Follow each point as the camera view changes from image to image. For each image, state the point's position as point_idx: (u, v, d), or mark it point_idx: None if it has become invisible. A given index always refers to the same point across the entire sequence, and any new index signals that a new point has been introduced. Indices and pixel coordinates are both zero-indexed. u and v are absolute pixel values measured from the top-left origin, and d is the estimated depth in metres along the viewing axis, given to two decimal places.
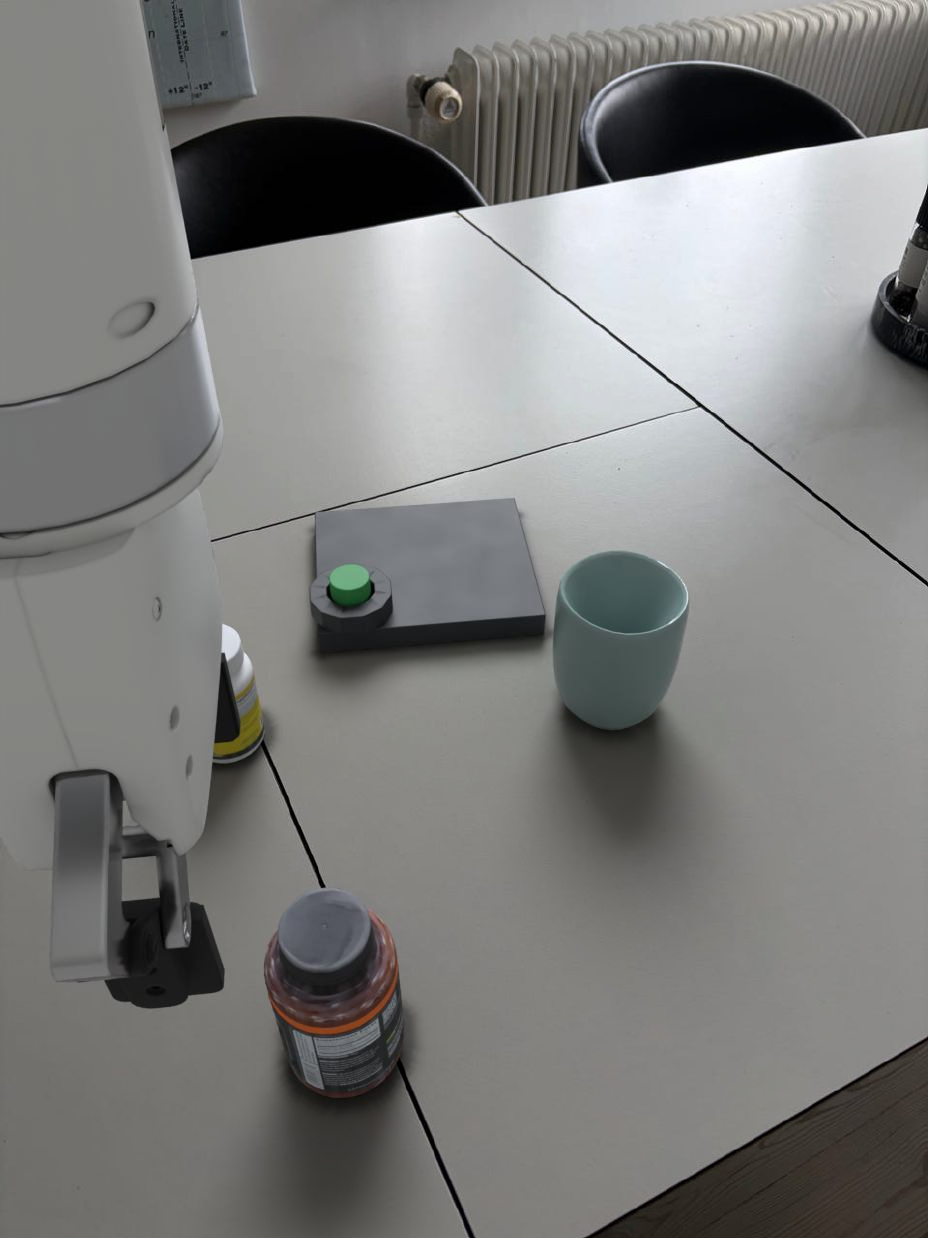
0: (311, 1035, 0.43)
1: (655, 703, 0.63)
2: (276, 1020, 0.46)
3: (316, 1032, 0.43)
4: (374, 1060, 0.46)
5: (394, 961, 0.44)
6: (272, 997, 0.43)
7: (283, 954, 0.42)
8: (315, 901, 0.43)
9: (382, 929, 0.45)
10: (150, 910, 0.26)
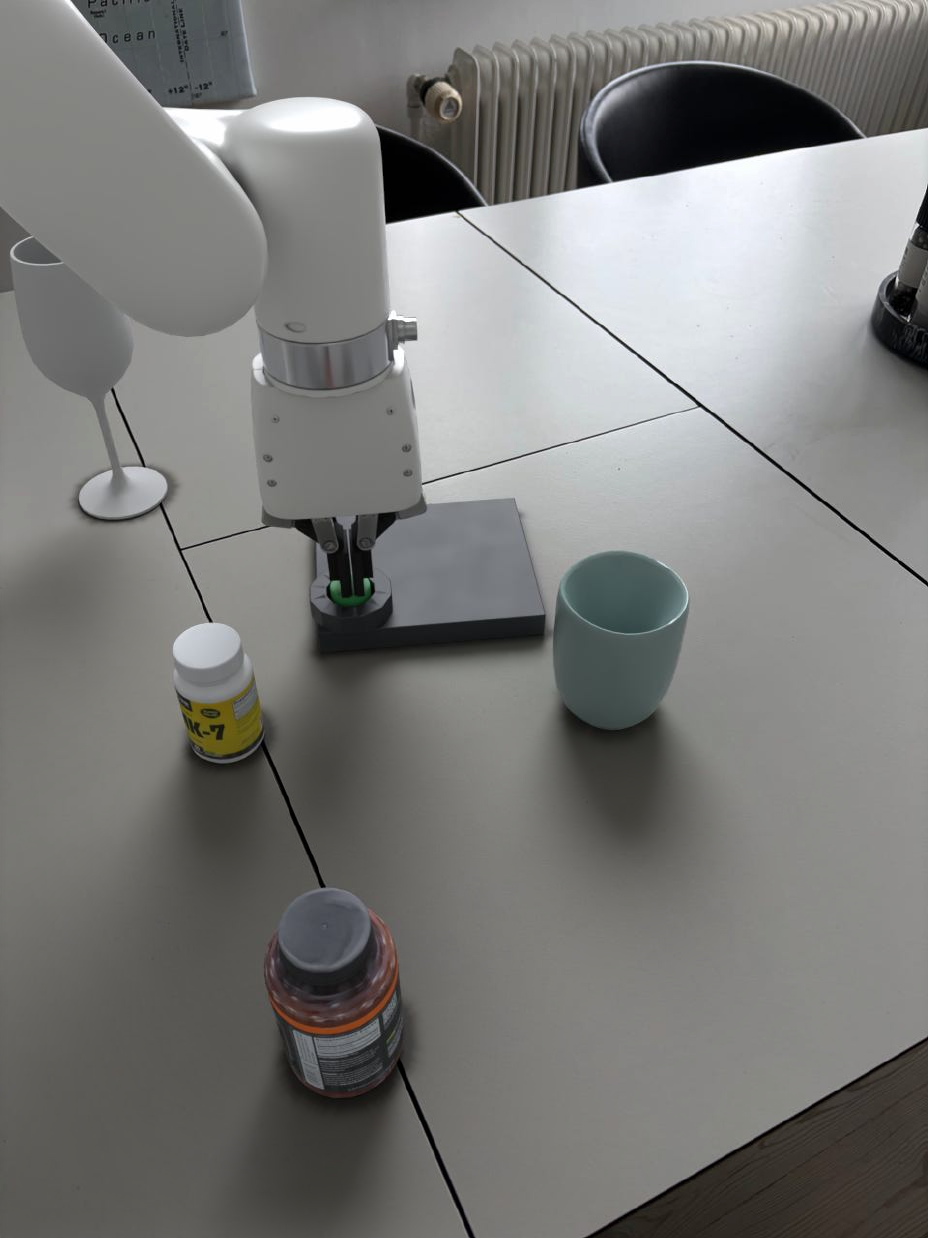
0: (311, 1035, 0.43)
1: (655, 703, 0.63)
2: (276, 1020, 0.46)
3: (316, 1031, 0.43)
4: (374, 1060, 0.46)
5: (394, 961, 0.44)
6: (272, 997, 0.43)
7: (283, 954, 0.42)
8: (315, 901, 0.43)
9: (382, 929, 0.45)
10: None
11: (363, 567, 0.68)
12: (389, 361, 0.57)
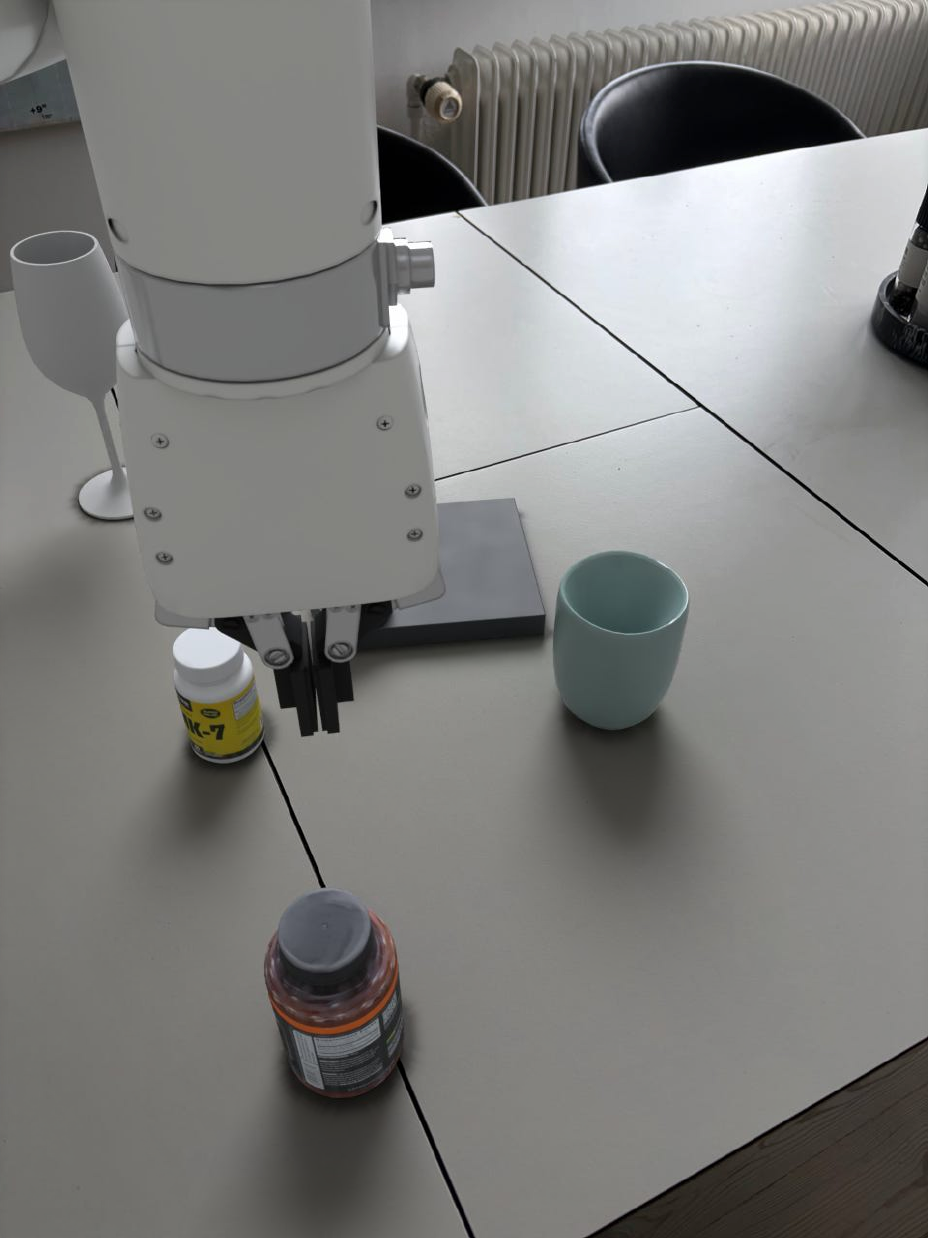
0: (311, 1035, 0.43)
1: (655, 703, 0.63)
2: (276, 1020, 0.46)
3: (316, 1031, 0.43)
4: (374, 1060, 0.46)
5: (394, 961, 0.44)
6: (272, 997, 0.43)
7: (283, 954, 0.42)
8: (315, 901, 0.43)
9: (382, 929, 0.45)
10: None
11: (336, 686, 0.40)
12: (381, 327, 0.29)
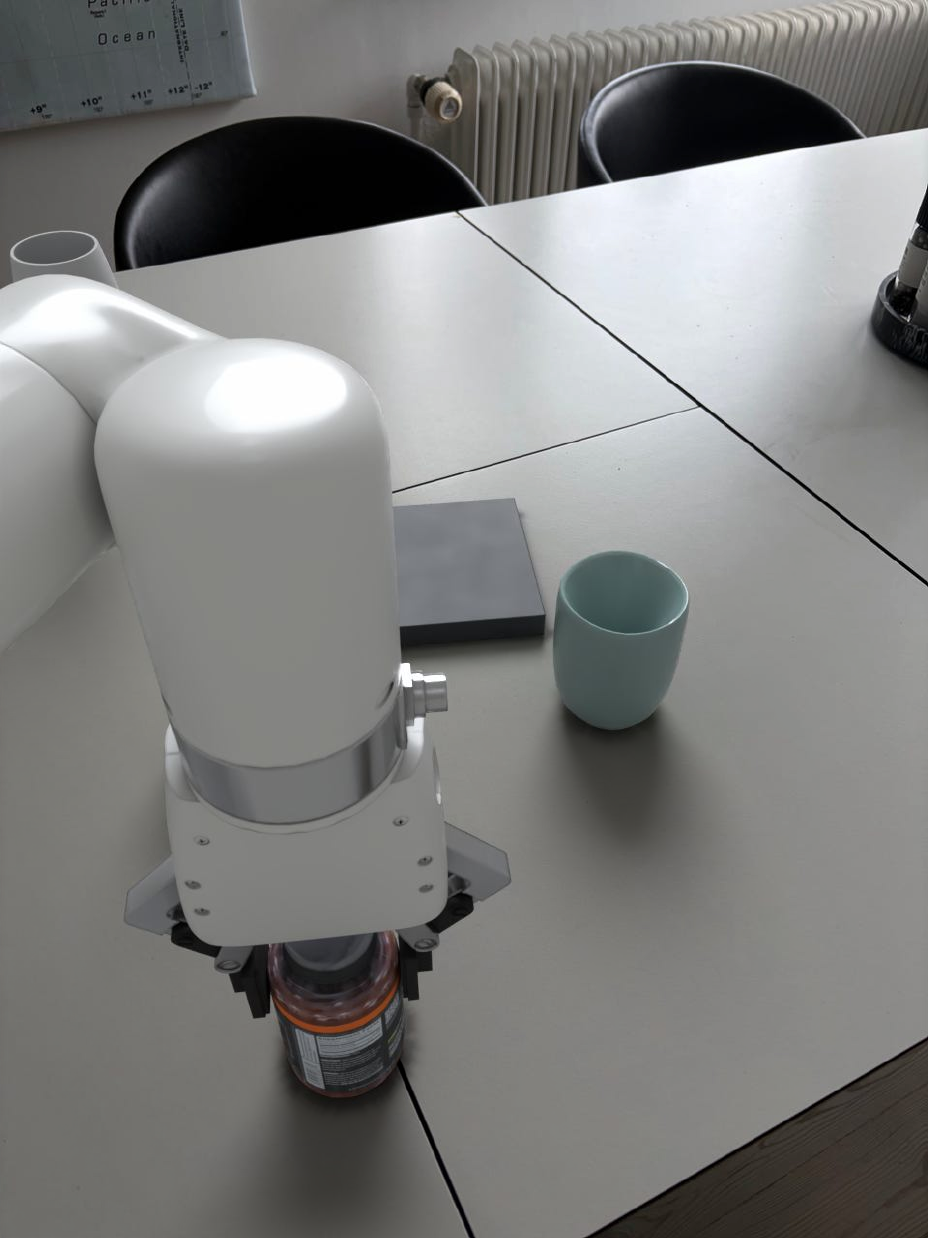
0: (313, 1034, 0.43)
1: (655, 703, 0.63)
2: (278, 1019, 0.45)
3: (319, 1030, 0.43)
4: (375, 1060, 0.46)
5: (397, 960, 0.44)
6: (275, 995, 0.43)
7: (287, 952, 0.42)
8: None
9: None
10: None
11: (418, 963, 0.44)
12: (399, 752, 0.33)
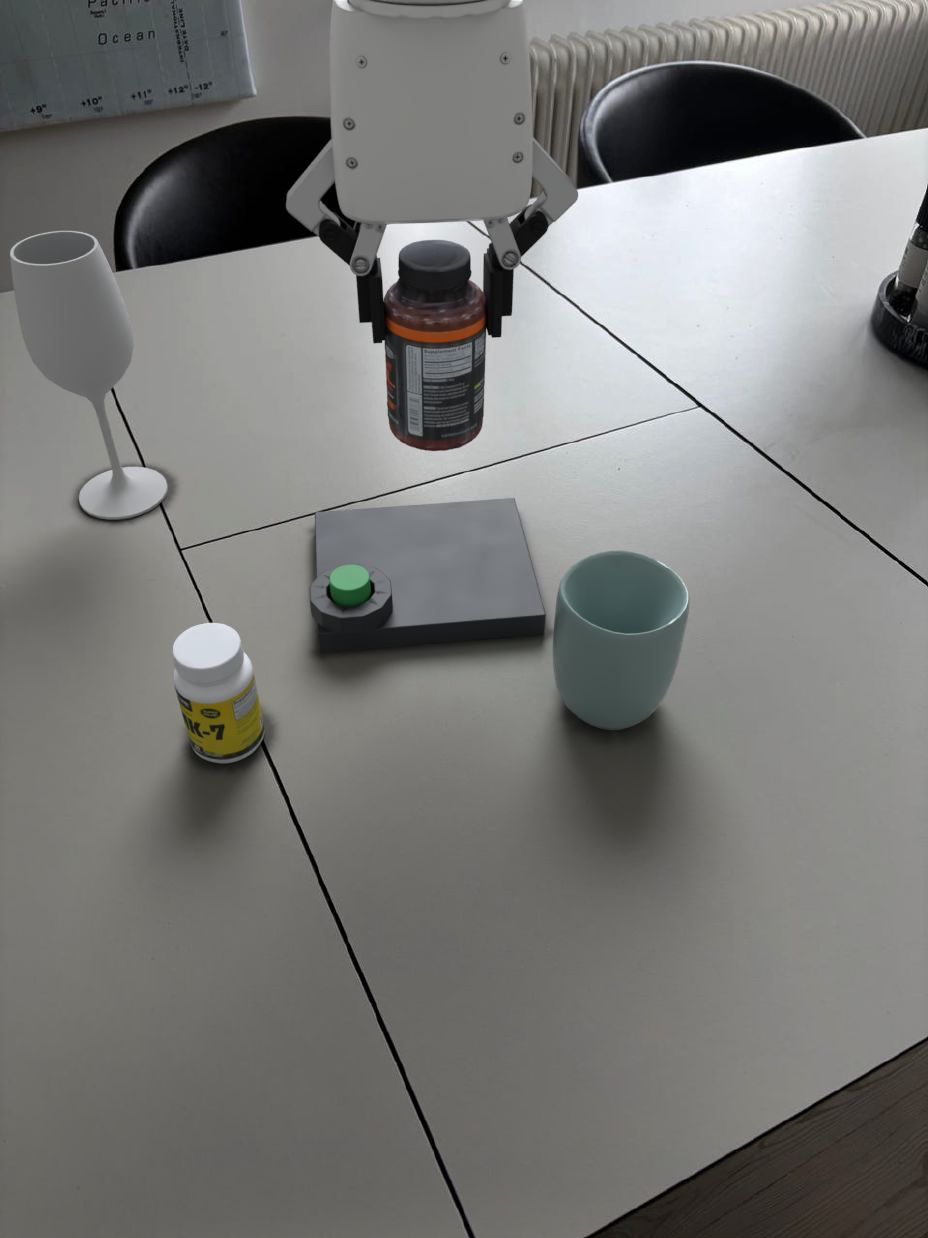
0: (421, 346, 0.56)
1: (655, 703, 0.63)
2: (389, 359, 0.58)
3: (426, 338, 0.55)
4: (464, 401, 0.59)
5: (485, 301, 0.57)
6: (391, 315, 0.56)
7: (404, 264, 0.54)
8: (426, 243, 0.56)
9: (475, 284, 0.57)
10: None
11: (501, 298, 0.56)
12: None
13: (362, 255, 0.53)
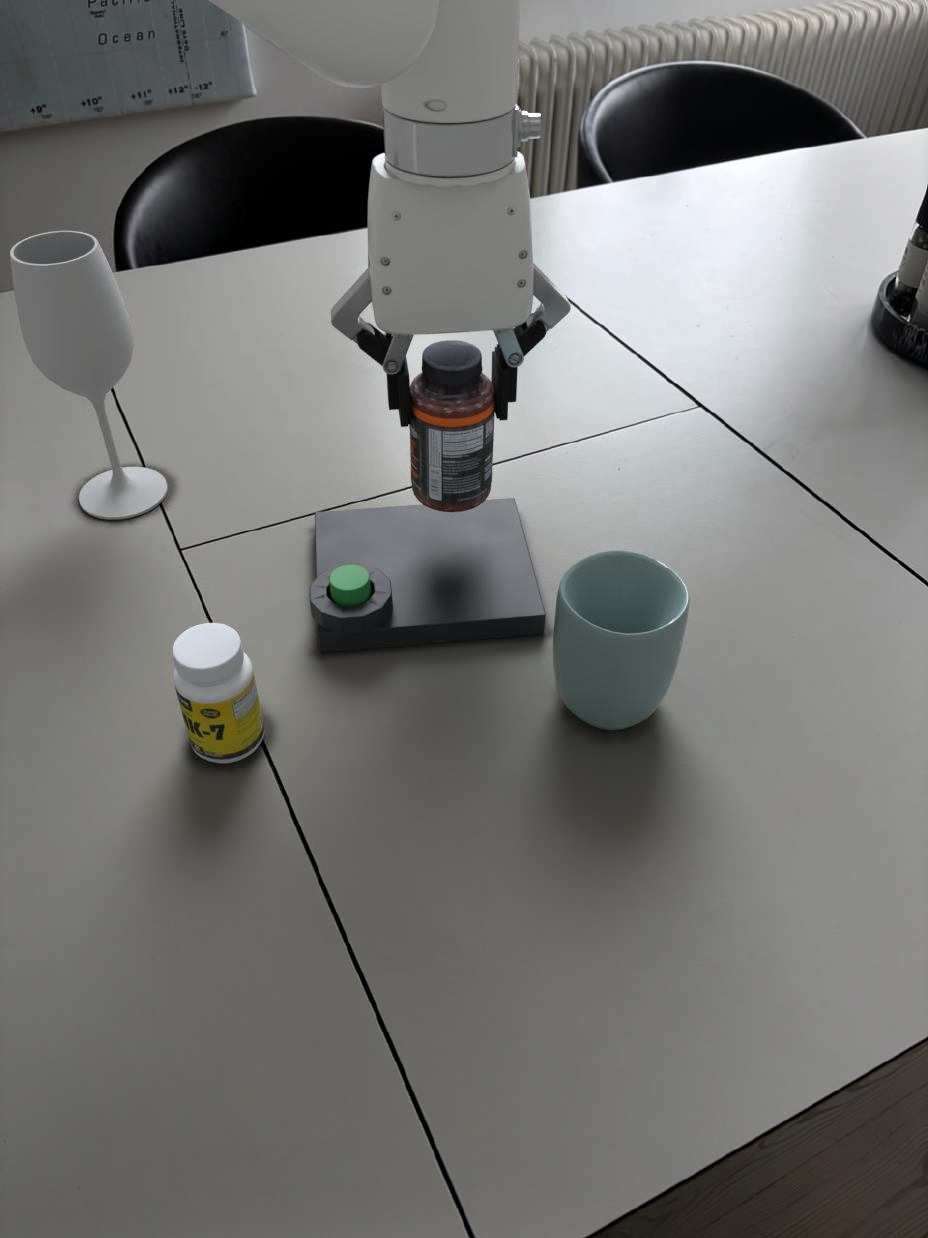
0: (441, 429, 0.67)
1: (655, 703, 0.63)
2: (414, 438, 0.69)
3: (445, 423, 0.67)
4: (476, 472, 0.70)
5: None
6: (416, 404, 0.67)
7: (427, 364, 0.66)
8: (444, 344, 0.67)
9: (485, 375, 0.69)
10: None
11: None
12: (513, 156, 0.57)
13: (393, 358, 0.65)
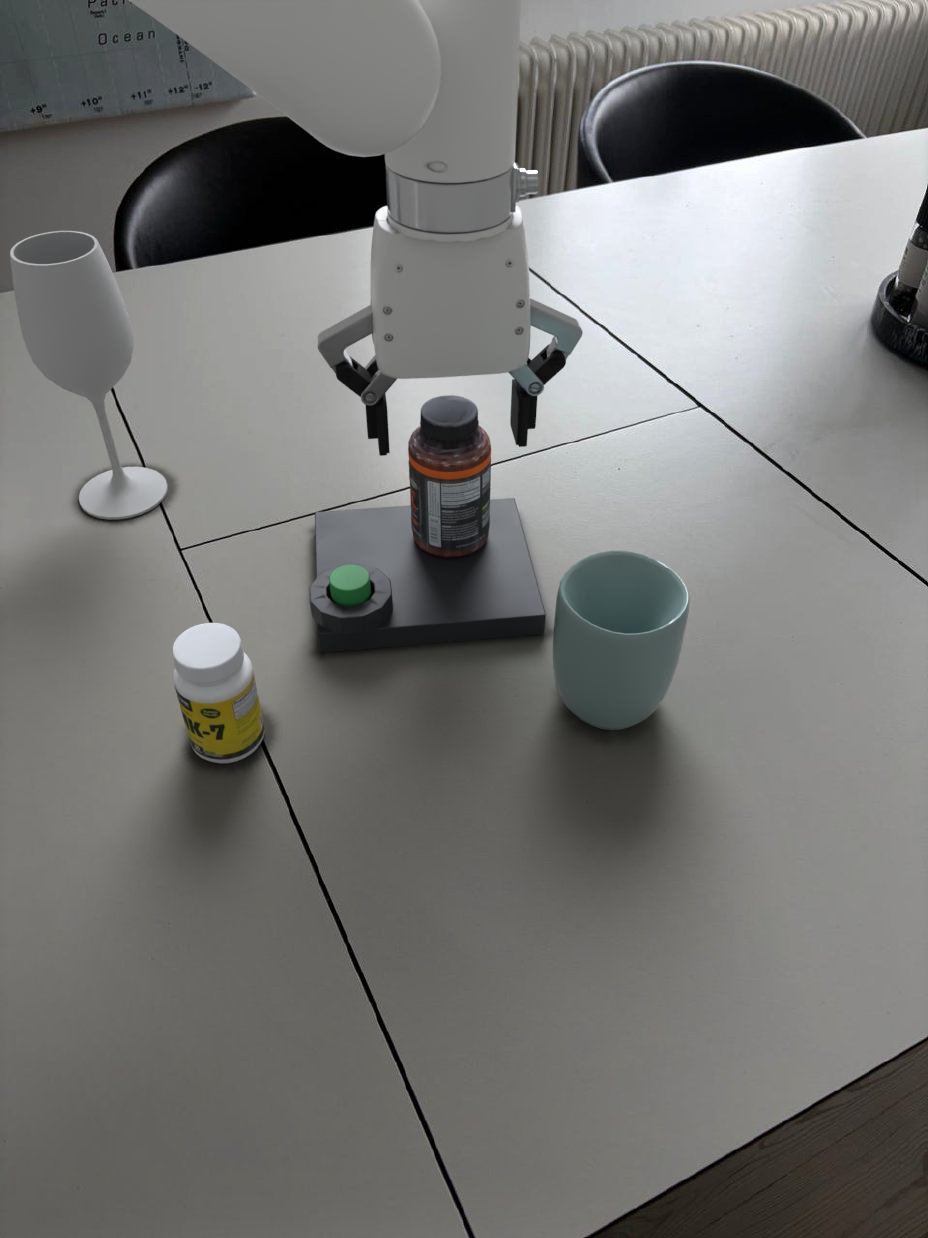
0: (439, 482, 0.70)
1: (655, 703, 0.63)
2: (414, 488, 0.72)
3: (443, 476, 0.70)
4: (474, 520, 0.73)
5: (490, 443, 0.71)
6: (415, 457, 0.70)
7: (425, 420, 0.69)
8: (442, 399, 0.70)
9: (481, 428, 0.72)
10: (367, 379, 0.66)
11: None
12: (511, 211, 0.59)
13: (371, 390, 0.66)
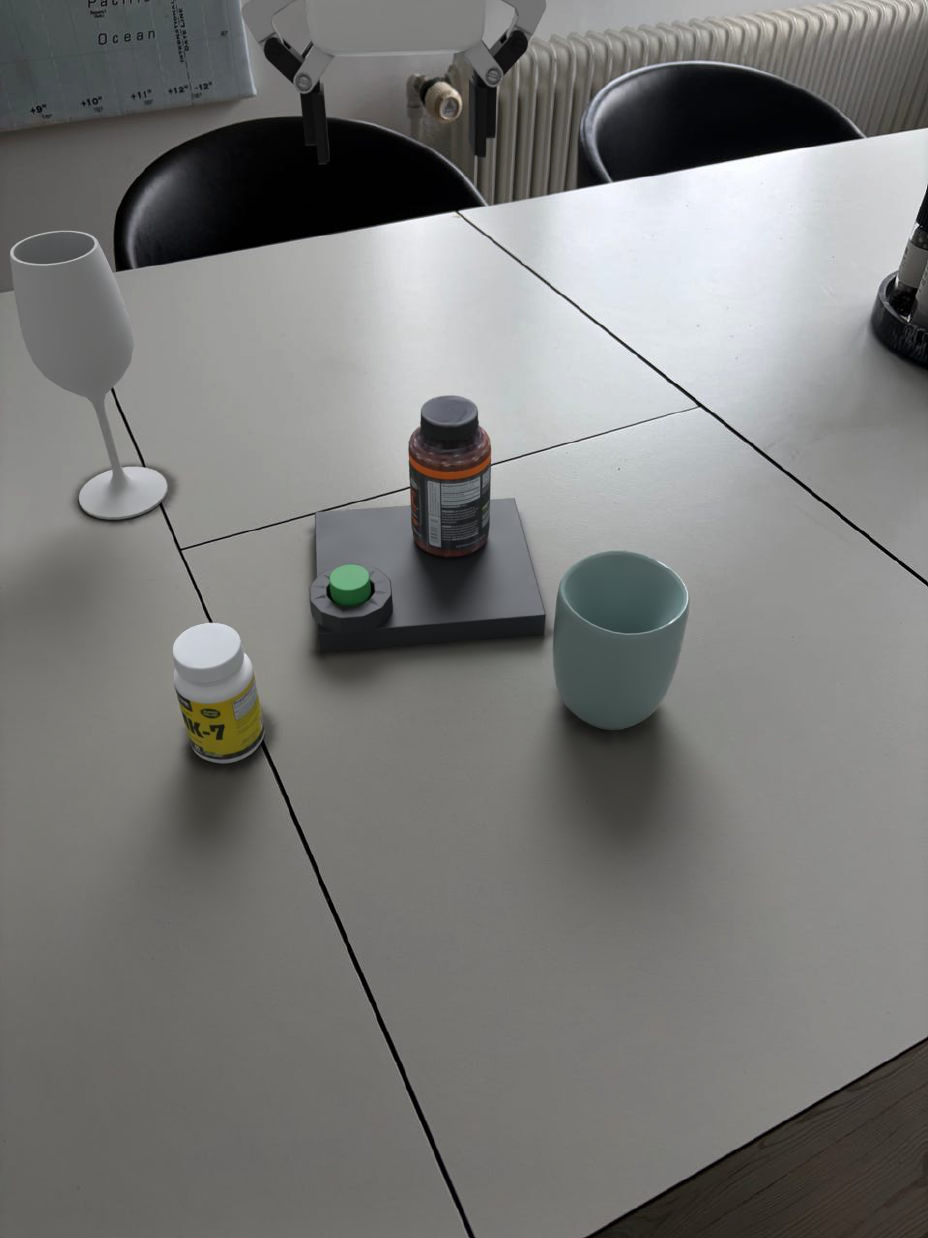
0: (439, 482, 0.70)
1: (655, 703, 0.63)
2: (414, 488, 0.72)
3: (443, 476, 0.70)
4: (474, 520, 0.73)
5: (490, 443, 0.71)
6: (416, 457, 0.70)
7: (425, 420, 0.69)
8: (442, 399, 0.70)
9: (481, 428, 0.72)
10: (300, 61, 0.58)
11: None
12: None
13: (304, 72, 0.58)
